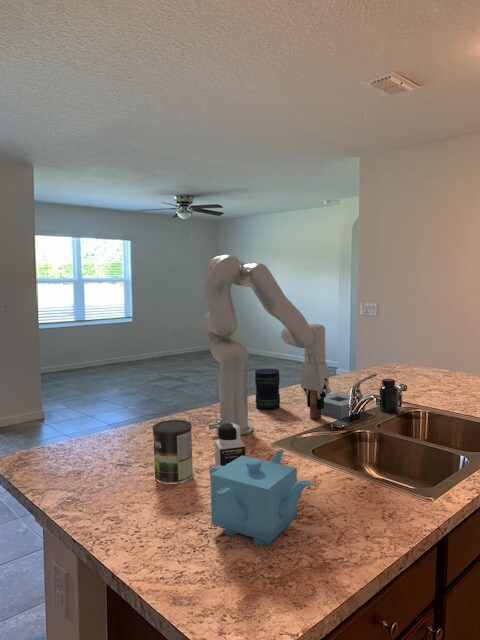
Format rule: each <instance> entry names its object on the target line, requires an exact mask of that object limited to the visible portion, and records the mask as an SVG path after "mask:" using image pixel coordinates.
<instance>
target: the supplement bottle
mask: <svg viewBox="0 0 480 640" xmlns="http://www.w3.org/2000/svg"><path fill="white" fill-rule="evenodd" d="M380 398H381V405H380V404H379V410H380V411H381V412H383V413H397V412H398V411H399V388H398V387H397V386H396V380H395V378H383V379H381V386H380V387H379V399H380Z"/></svg>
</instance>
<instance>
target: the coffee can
mask: <svg viewBox="0 0 480 640" xmlns="http://www.w3.org/2000/svg"><path fill="white" fill-rule="evenodd" d="M192 427H193V425H192V422H190V421H187V420H185V419H167V420H163V421H160V422H157V423H155V424H153V426H152V436H153V456H154V457H153V458H154V479H155V478H156V480H158V481H160V482H162V483H181V482H184V483H186V482H185V481H187V482H188V480H189V481H190V480H191V479H192V478H193V477H194V472H193V471H194V469H193V468H194V467H193V441H192V440H193V439H192ZM192 476H193V477H192ZM156 480H155V481H156ZM181 484H182V483H181Z"/></svg>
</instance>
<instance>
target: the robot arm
mask: <svg viewBox="0 0 480 640" xmlns="http://www.w3.org/2000/svg"><path fill="white" fill-rule="evenodd" d="M207 266H208V267H207V269H208V270H207V271H208V275H207V279H206V281H205V287H204V288H205V289H204V294H205V295H204V296H205V299H206V304H207V305H206V306H207V308H208V311H207V312H206V313H205V315H204V319H203V326H204V331H205V335H206V339H207V342H208V346H209V349H210V353H211V355H212V357H213V358H214V359H215V360H216V361H217V362H218V363H219V364H220V365H219V366H220V367H219V374H218V387H219V391H218V392H219V415H220V416H219V417H218V418H217V421H216V422H213V423H208V429H209V430H210V431H211V430H216V431H215V432H217V433H218V427H219V426H220V425H223V424H226V423H233V424H237V425H238V426H239V427H240V436H245V435H247V434H250V433H252V431H253V429H254V428H253V425H252V424H251V423H250V422H249V415H248V413H249V409H248V408H249V403H248V401H249V400H248V366H249V364H248V363H249V351H248V348H247V347H246V345H245V344H244V343H243V342H242V341H241V340H238V339H235V337H234V334H235V333H236V332H237V330H238V326H239V323H238V317H237V314H236V310H235V306H234V302H233V297H232V285H235V286H238V287H239V286H240V287H244V288H251V290H252V292H253V293H254V294H255V296H256V298H257V299H258V301H259V303H260V304H261V305H262V307H263V309H264V310H265V311H266V312H267V313H268V314H269V315H271V316H272V317H273V318H275V319H276V320H278V321H279V322H280V323H281V324H282V325H283V326H284V328H283V329H282V330H281V339H282V341H283V343H285V344H286V345H288V346H291V347H295V348H299V349H304V352H303V355H302V356H303V358H304V360H303V362H302V365H301V371H300V372H301V373H300V387H301V388H302V390H303V391H304V393H305V396H306V404H307V405H306V406H307V408H310V390H314V391H317V395H318V399H317V410H320V409H323V408H324V398H325V396H326V395H329V394H331V393H332V390H331V388H330V386H329V385H330V383H329V382H330V381H329V380H330V378H329V370H328V364H327V362H326V326H324V325H323V324H320V323H319V324H317V323H314V324H313V323H310V324H309V322H308V321H307V319H306V318H305V316H304V315H303V314H302V312H301V310H299V309H298V308H297V307H296V306H295V305H294V304H293V302H291V301H290V300H289V298H287V296H286V295H285V293H284V292H283V290H282V288H281V286H280V285H279V284H278V282H277V280H276V278H275V277H274V275H273V274H272V271H270V269H269V268H268V266H267V265H266V264H263V263H259V262H253V263H251V262H250V263H248V262H243V261H240V259H239V258H238V257H237V256H235V255H232V254H223V255H217V256H215V257H212V259H211V260H210V261H209V263H208V265H207Z"/></svg>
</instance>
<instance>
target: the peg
mask: <svg viewBox="0 0 480 640" xmlns="http://www.w3.org/2000/svg"><path fill="white" fill-rule="evenodd" d="M317 399H318V395H317V391H314V390H310V407H309V419H310V420H312V421H320V420H322V414H321V409H320V410H317Z"/></svg>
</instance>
